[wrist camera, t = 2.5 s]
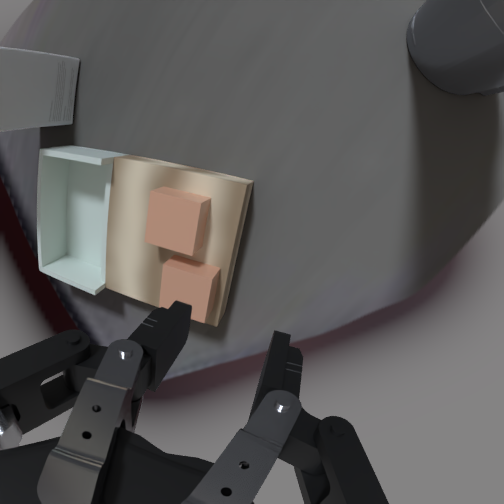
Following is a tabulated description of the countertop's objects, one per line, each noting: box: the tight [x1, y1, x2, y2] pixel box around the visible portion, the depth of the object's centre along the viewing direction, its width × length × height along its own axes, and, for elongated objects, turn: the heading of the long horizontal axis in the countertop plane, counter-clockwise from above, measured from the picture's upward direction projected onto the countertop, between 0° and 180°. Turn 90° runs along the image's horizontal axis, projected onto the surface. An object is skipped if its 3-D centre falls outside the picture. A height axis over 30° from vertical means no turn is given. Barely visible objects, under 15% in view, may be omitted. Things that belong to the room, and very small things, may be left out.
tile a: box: [145, 186, 211, 256], centre depth 27 cm, size 4×4×2 cm
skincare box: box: [0, 47, 80, 132], centre depth 22 cm, size 8×7×16 cm
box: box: [37, 145, 128, 295], centre depth 30 cm, size 9×14×5 cm, turn 167°
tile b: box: [159, 255, 221, 323], centre depth 28 cm, size 4×4×2 cm
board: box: [105, 155, 254, 327], centre depth 30 cm, size 13×14×3 cm
